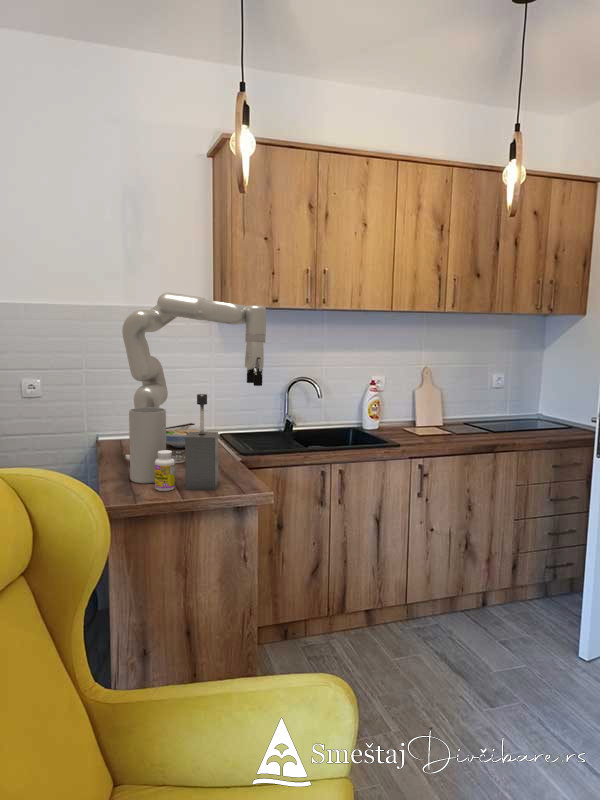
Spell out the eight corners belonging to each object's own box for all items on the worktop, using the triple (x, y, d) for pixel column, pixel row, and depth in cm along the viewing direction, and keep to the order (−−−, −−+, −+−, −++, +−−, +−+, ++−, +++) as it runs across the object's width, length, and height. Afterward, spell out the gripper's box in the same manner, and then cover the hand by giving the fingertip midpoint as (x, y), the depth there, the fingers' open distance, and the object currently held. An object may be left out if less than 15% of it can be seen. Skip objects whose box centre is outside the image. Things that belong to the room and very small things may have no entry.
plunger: (190, 458, 201) (189, 395, 199) (193, 453, 208) (192, 393, 206) (211, 458, 202) (211, 396, 199) (213, 454, 209) (213, 393, 206)
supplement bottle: (150, 490, 200) (150, 452, 198) (162, 485, 206) (161, 448, 204) (168, 492, 198) (167, 454, 196) (178, 487, 204) (178, 450, 202)
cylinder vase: (134, 474, 219) (133, 407, 216) (169, 475, 220) (168, 407, 217) (126, 484, 207) (125, 412, 204) (162, 484, 208) (162, 413, 204)
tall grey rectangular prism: (185, 489, 201) (185, 437, 199) (190, 479, 214) (190, 430, 212) (215, 490, 202) (215, 437, 199) (218, 479, 215) (219, 430, 212)
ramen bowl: (175, 454, 253) (174, 435, 252) (143, 446, 268) (142, 428, 267) (219, 445, 272) (219, 428, 271) (187, 438, 287) (186, 422, 286)
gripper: (239, 337, 231) (239, 381, 233) (251, 339, 215) (250, 387, 217) (258, 338, 233) (257, 381, 236) (271, 340, 217) (270, 386, 219)
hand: (254, 384), depth 226 cm, fingers open, 9 cm apart
